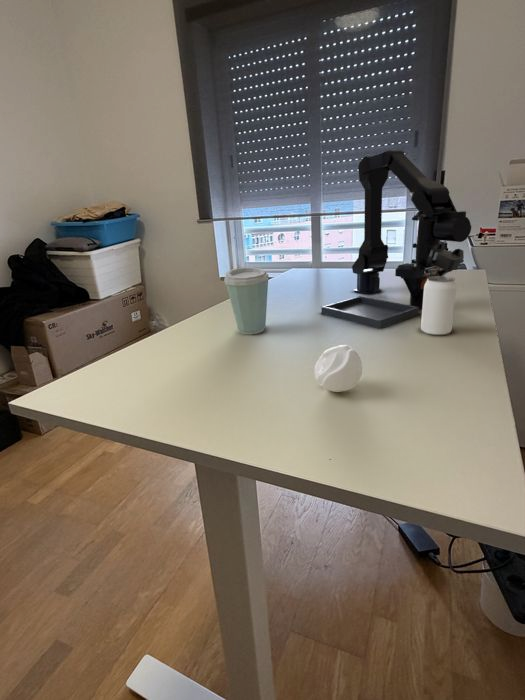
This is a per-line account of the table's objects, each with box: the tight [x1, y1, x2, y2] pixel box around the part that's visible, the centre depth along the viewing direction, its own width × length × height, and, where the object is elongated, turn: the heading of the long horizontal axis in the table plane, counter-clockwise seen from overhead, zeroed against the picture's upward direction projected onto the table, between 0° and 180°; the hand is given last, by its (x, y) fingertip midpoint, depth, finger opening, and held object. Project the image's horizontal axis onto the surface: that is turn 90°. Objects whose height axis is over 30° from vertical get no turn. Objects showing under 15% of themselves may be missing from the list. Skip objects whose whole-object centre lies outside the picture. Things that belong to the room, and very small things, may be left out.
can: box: [420, 275, 457, 336], centre depth 90 cm, size 6×6×12 cm
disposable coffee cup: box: [223, 266, 270, 335], centre depth 98 cm, size 11×11×15 cm
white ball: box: [313, 344, 363, 393], centre depth 67 cm, size 8×8×8 cm
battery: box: [409, 270, 440, 311], centre depth 108 cm, size 4×7×10 cm, turn 74°
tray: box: [320, 295, 420, 330], centre depth 108 cm, size 20×16×2 cm
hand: (423, 298), depth 109 cm, fingers closed on battery, 7 cm apart
